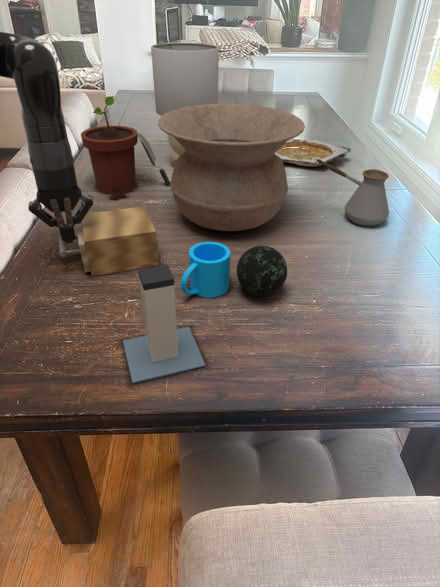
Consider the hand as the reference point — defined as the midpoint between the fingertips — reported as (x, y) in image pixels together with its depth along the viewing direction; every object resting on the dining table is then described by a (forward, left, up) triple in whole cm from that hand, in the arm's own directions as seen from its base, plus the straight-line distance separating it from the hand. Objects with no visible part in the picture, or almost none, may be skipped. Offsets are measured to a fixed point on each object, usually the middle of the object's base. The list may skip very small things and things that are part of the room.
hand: (69, 241), depth 89 cm
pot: (+40, +11, -6) cm, 42 cm away
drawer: (+7, 0, -5) cm, 8 cm away
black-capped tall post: (+13, -33, -5) cm, 36 cm away
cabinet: (+10, 0, -6) cm, 12 cm away
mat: (+12, -34, -6) cm, 36 cm away
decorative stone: (+35, -22, -6) cm, 42 cm away
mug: (+24, -18, -6) cm, 31 cm away
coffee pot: (+71, +2, -6) cm, 72 cm away
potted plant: (+18, +39, -6) cm, 43 cm away
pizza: (+82, +47, -6) cm, 95 cm away
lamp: (+41, +54, -6) cm, 68 cm away
